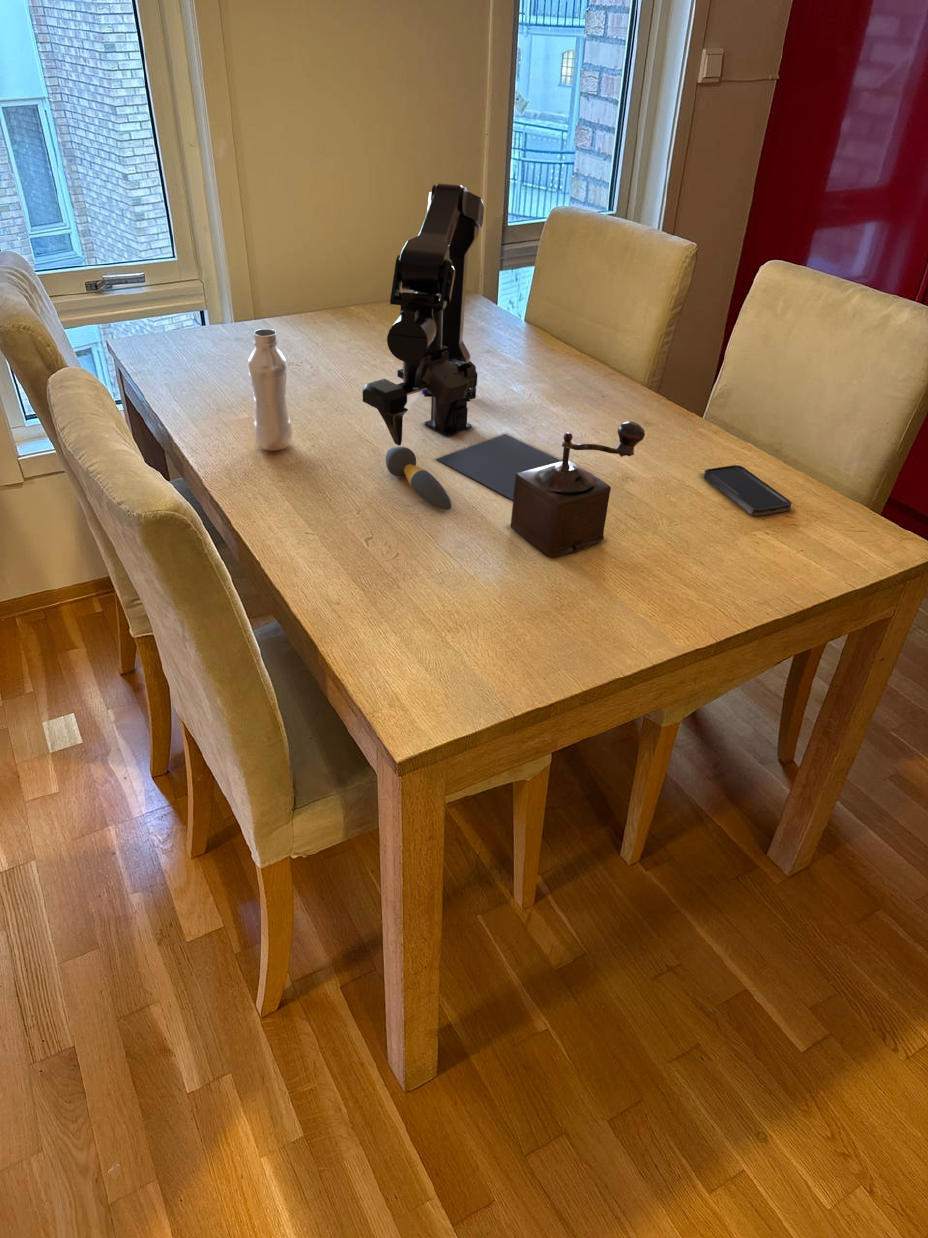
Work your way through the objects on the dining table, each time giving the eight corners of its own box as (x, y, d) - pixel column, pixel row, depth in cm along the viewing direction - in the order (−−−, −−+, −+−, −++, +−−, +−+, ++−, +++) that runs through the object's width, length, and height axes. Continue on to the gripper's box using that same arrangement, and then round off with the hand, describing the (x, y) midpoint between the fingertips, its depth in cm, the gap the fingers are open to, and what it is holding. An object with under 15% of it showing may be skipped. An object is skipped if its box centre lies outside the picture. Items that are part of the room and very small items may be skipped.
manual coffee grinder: (552, 561, 130) (567, 447, 120) (508, 527, 137) (518, 417, 127) (632, 535, 137) (652, 425, 127) (586, 504, 145) (601, 398, 134)
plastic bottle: (300, 442, 158) (292, 329, 146) (281, 458, 153) (272, 341, 141) (267, 435, 160) (257, 323, 148) (247, 450, 154) (236, 335, 143)
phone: (739, 464, 157) (794, 503, 146) (738, 470, 157) (792, 510, 146) (701, 469, 154) (754, 510, 143) (700, 475, 155) (753, 517, 144)
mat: (435, 459, 155) (435, 458, 155) (505, 434, 165) (505, 433, 165) (518, 504, 144) (519, 503, 144) (587, 474, 154) (588, 473, 153)
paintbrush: (468, 508, 142) (470, 480, 139) (443, 517, 139) (444, 488, 136) (397, 461, 154) (397, 434, 151) (373, 468, 151) (372, 441, 149)
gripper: (409, 368, 122) (408, 472, 131) (505, 341, 133) (498, 439, 142) (359, 345, 129) (361, 445, 138) (454, 321, 139) (450, 416, 149)
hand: (420, 436), depth 141 cm, fingers open, 9 cm apart
